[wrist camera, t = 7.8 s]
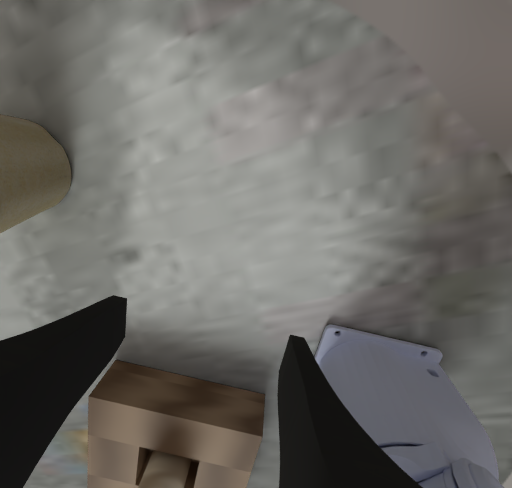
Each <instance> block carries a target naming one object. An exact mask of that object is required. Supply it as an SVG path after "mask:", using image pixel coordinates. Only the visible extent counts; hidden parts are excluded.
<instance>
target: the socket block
mask: <svg viewBox="0 0 512 488" xmlns="http://www.w3.org/2000/svg"><path fill="white" fill-rule="evenodd" d="M264 404H265V394H260V393H256V392H252V391H248V390H243V389H239V388H235V387H230V386H226V385H222V384H217V383H213V382H209V381H204V380H200V379H196V378H192V377H187V376H183V375H179V374H174V373H170V372H166V371H161V370H157V369H153V368H148V367H144V366H140V365H136V364H131V363H127V362H123V361H118V360H115V362H114V363H113V364H112V366H111V367H110V368H109V370H108V371H107V372H106V374H105V375H104V376H103V378H102V379H101V380H100V382H99V383H98V385H97V386H96V387H95V389H94V390H93V391H92V393H91V394H90V395H89V403H88V488H138V487H139V484H140V482H141V479H142V477H143V474H144V472H145V469H146V467H147V465H148V462H149V460H150V457H151V455H152V452H153V450H156V451H160V452H165V453H169V454H173V455H178V456H182V457H186V458H190V459H192V460H191V464H190V468H189V471H188V475H187V478H186V482H185V486H184V488H246V486H247V483H248V480H249V477H250V474H251V471H252V468H253V465H254V462H255V459H256V455H257V452H258V449H259V446H260V443H261V440H262V437H263V420H264Z"/></svg>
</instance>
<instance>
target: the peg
mask: <svg viewBox="0 0 512 488" xmlns="http://www.w3.org/2000/svg"><path fill="white" fill-rule="evenodd" d="M191 460H192V459H190V458H186V457H182V456H178V455H173V454H169V453H165V452H160V451H156V450H153V452H152V455H151V457H150V460H149V462H148V465H147V467H146V469H145V472H144V474H143V477H142V479H141V482H140V484H139V487H138V488H184V486H185V482H186V478H187V475H188V471H189V468H190V464H191Z"/></svg>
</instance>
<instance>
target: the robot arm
mask: <svg viewBox="0 0 512 488" xmlns="http://www.w3.org/2000/svg"><path fill="white" fill-rule="evenodd" d="M126 309H127V298H123V297H118V296H114V295H113V296H111V297H108V298H106V299H104V300H101V301H99V302H97V303H95V304H93V305H91V306H88V307H86V308H84V309H82V310H80V311H77V312H75V313H73V314H71V315H69V316H66V317H64V318H61V319H59V320H57V321H54V322H52V323H49V324H47V325H44V326H42V327H39V328H37V329H34V330H31V331H29V332H26V333H23V334H20V335H17V336H14V337H11V338H8V339H5V340H1V341H0V488H23V486H24V485H25V483H26V481H27V480H28V478H29V476H30V475H31V473H32V471H33V470H34V468H35V466H36V465H37V463H38V461H39V460H40V458H41V457H42V455H43V453H44V452H45V450H46V449H47V447H48V445H49V444H50V442H51V441H52V439H53V438H54V436H55V434H56V433H57V431H58V430H59V428H60V427H61V425H62V424H63V422H64V421H65V419H66V418H67V416H68V415H69V413H70V412H71V410H72V409H73V408H74V406H75V405H76V404H77V402H78V401H79V400H80V399H81V397H82V396H83V395H84V394H85V392H86V391H87V390H88V388H89V387H90V386H91V385H92V383H93V382H94V381H95V380H96V378H97V377H98V376H99V374H100V373H101V372H102V371H103V369H104V368H105V367H106V365H107V364H108V363H109V362H110V360H111V359H112V358H113V356H114V354H115V353H116V351H117V350H118V348H119V346H120V344H121V343H122V341H123V339H124V338H125V328H126ZM336 331H340V332H339V333H335V332H336ZM423 351H425V352H424V353H421V352H423ZM442 357H443V355H442V353H441V351H440V350H439V349H436V348H432V347H427V346H423V345H419V344H414V343H410V342H406V341H401V340H397V339H393V338H388V337H384V336H380V335H375V334H371V333H367V332H363V331H358V330H354V329H350V328H345V327H341V326H337V325H331V324H330V325H327V326H326V327H325V329H324V332H323V335H322V338H321V340H320V343H319V346H318V349H317V351H316V354H315V357H314V356H313V354H312V352H311V350H310V348H309V346H308V344H307V342H306V340H305V339H304V338H303V337H298V336H294V335H290V337H289V340H288V343H287V347H286V350H285V353H284V357H283V360H282V363H281V366H280V370H279V379H278V417H279V437H280V481H279V488H504V487H503V486H502V485H501V483H500V482H499V472H498V465H497V460H496V456H495V452H494V449H493V446H492V443H491V441H490V438H489V436H488V434H487V432H486V431H485V429H484V427H483V426H482V424H481V423H480V421H479V420H478V419H477V417H476V416H475V414H474V413H473V411H472V410H471V409H470V407H469V406H468V404H467V403H466V402H465V400H464V399H463V397H462V396H461V394H460V393H459V392H458V390H457V389H456V387H455V386H454V385H453V383H452V382H451V380H450V379H449V377H448V376H447V375H446V373H445V372H444V370H443V369H442V367H441V366H440V365H439V362H440V361H441V359H442Z"/></svg>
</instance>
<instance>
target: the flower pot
mask: <svg viewBox="0 0 512 488" xmlns="http://www.w3.org/2000/svg"><path fill="white" fill-rule="evenodd" d="M70 185H71V168H70V164H69V160H68V158H67V155H66V153H65V151H64V149H63V147H62V146H61V145H60V144H59V143H58V142H57V141H56V140H55V139H54V138H53V137H52V136H51V135H50V134H49V133H48V132H47V131H46V130H45V129H44V128H43V127H42V126H40V125H38V124H36V123H34V122H31V121H28V120H25V119H20V118H15V117H11V116H6V115H2V114H0V233H2V232H4V231H6V230H7V229H9V228H11V227H13V226H15V225H17V224H19V223H21V222H23V221H25V220H27V219H29V218H31V217H32V216H34V215H36V214H38V213H40V212H42V211H45V210H47V209H49V208H51V207H53V206H55V205H57V204H58V203H59V202H60V201H61V200H62V199H63V198H64V196H65V195H66V194H67V192H68V191H69V188H70Z"/></svg>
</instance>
